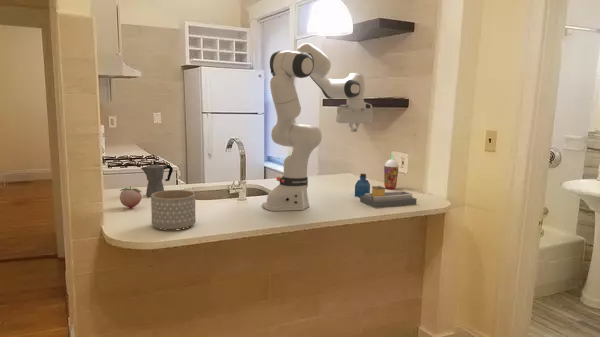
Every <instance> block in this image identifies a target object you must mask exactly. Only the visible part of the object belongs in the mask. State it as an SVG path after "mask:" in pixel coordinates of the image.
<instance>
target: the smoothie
mask: <svg viewBox="0 0 600 337" xmlns="http://www.w3.org/2000/svg"><path fill="white" fill-rule="evenodd" d="M393 156H394V155H393V154H391V157H390V159H387V160H386V161H385V163H384V164H383V175H384V177H383V178H384V180H383V181H384V183H383V184H384V186H383V187H384V188H385V190H395V189H396V188H397V182H398V174H399V167H400V165H399V164H398V162H397V160H395V159H393Z"/></svg>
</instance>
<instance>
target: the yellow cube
mask: <svg viewBox="0 0 600 337" xmlns="http://www.w3.org/2000/svg"><path fill="white" fill-rule="evenodd" d="M371 190H372V191H371V193H372V197H377V196H385V192H386V188H385V186H381V185H374V186H373V185H372V186H371Z"/></svg>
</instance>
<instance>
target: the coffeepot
mask: <svg viewBox="0 0 600 337" xmlns="http://www.w3.org/2000/svg"><path fill="white" fill-rule="evenodd" d="M140 169H141V170H142V171H143V172H144V174H145V176H146V180H147V181H148V182H147V186H146V191H145V192H146V194H145V197H146V196H147V198H149V197H151V195H152V194H153V193H155V192H159V191H165V188H164V184H163V180H164V181H165V182H169V181H171V180H170V179H171V176H172V173H173V170H174V167H172V166H171V165H170V164H163V165H161V164H157V160H153V161H152V164H151V165H150V164H149V165H146V166H142V167H141V168H140ZM165 170H168V174H167V178H166V179H165V178H164V172H165ZM163 178H164V179H163Z"/></svg>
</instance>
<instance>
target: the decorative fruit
mask: <svg viewBox="0 0 600 337" xmlns="http://www.w3.org/2000/svg"><path fill="white" fill-rule="evenodd" d="M119 192H120V195H119V201H120V203H121V204H122V205H123V206H124V207H127V208H129V209H132V208H134V207H137V206H138V205H139V204H140V202H141V201H142V191H141V190H140V189H138V188H131V186H130V185H129V188H128V187H126V188H122V189H119Z"/></svg>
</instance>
